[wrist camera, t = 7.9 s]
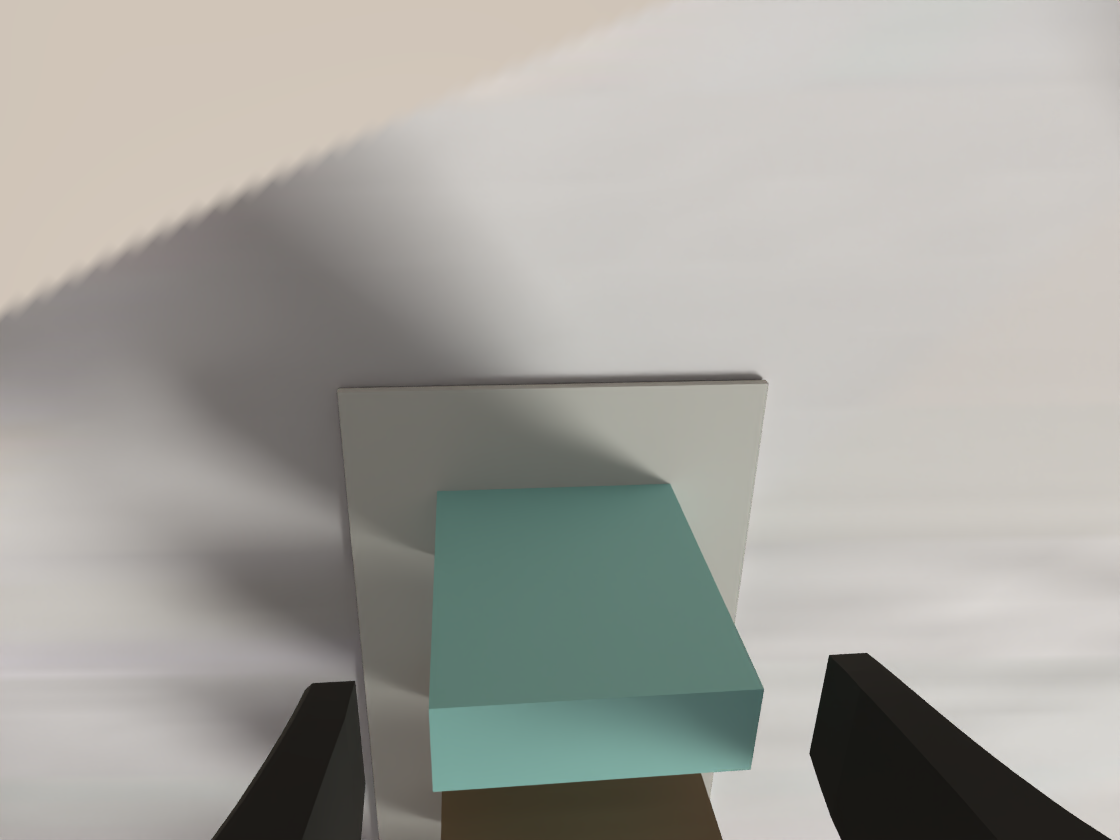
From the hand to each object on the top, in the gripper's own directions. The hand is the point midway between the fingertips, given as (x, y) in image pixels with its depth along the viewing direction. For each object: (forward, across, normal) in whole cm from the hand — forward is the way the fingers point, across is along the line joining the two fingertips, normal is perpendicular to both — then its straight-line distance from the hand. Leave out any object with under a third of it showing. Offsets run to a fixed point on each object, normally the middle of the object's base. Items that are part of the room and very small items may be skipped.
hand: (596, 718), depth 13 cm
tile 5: (+6, 0, 0) cm, 6 cm away
